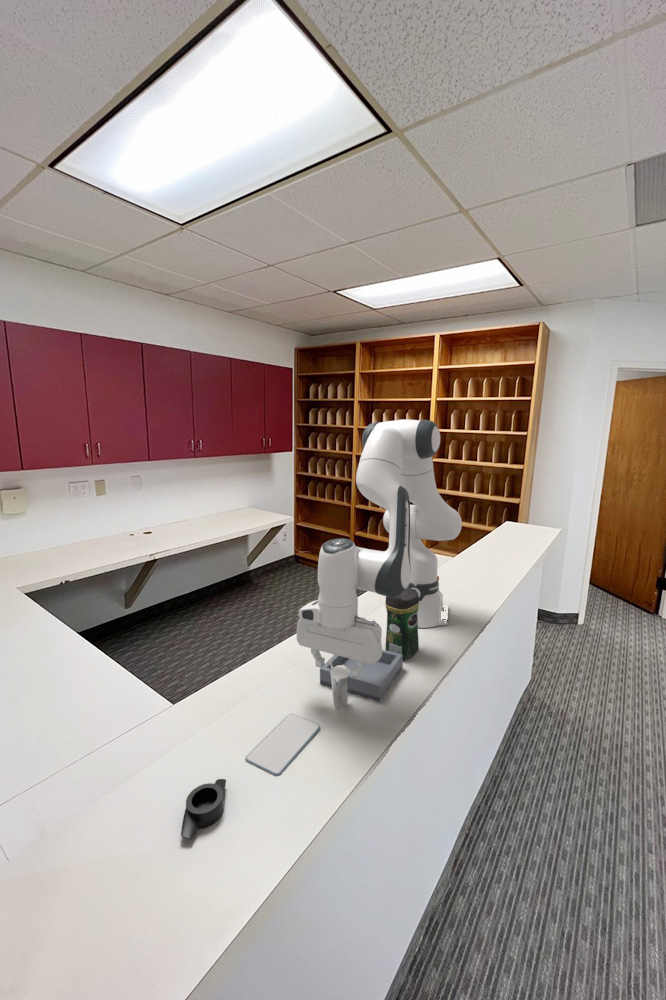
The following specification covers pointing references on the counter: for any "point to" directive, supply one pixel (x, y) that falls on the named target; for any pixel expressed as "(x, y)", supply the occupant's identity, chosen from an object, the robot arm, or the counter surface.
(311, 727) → the smartphone
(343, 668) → the milkshake
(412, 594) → the coffee jar
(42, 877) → the counter surface
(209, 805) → the black wing nut
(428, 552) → the robot arm
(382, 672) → the tray
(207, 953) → the counter surface
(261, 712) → the counter surface
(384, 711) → the counter surface
